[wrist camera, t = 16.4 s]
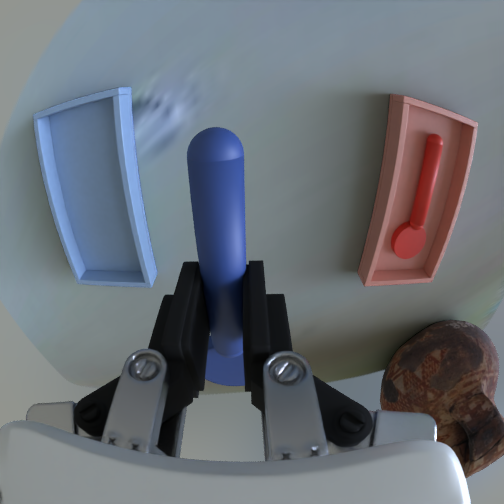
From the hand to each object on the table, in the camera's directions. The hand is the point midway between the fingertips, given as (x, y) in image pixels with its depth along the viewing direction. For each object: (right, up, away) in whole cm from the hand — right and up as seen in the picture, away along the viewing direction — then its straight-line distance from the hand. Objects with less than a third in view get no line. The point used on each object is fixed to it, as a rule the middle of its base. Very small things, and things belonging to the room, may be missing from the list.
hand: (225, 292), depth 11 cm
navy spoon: (0, 0, 0) cm, 0 cm away
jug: (+31, -14, +27) cm, 43 cm away
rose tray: (+17, +7, +12) cm, 22 cm away
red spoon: (+17, +7, +11) cm, 21 cm away
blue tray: (-13, +7, +11) cm, 18 cm away
